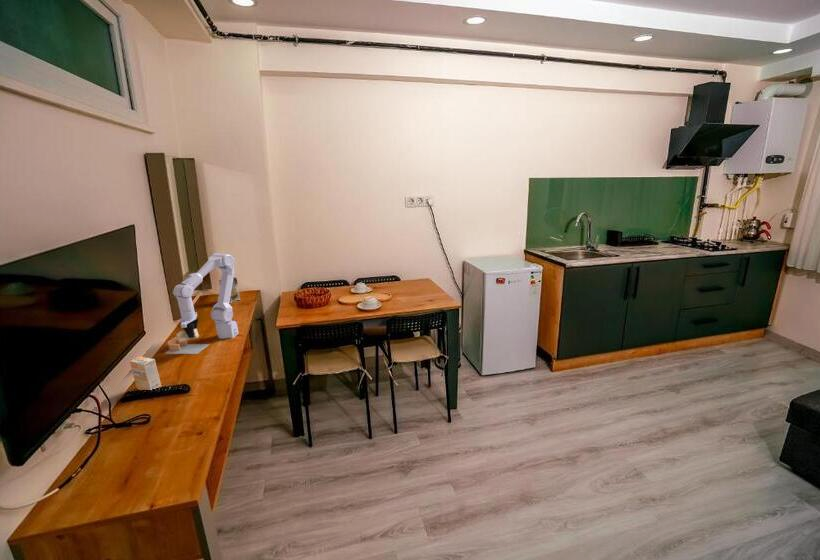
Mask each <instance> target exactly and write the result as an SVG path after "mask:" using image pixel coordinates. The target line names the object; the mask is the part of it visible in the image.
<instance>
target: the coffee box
mask: <svg viewBox="0 0 820 560" xmlns="http://www.w3.org/2000/svg"><path fill="white" fill-rule="evenodd" d="M218 282H219V285H220V284H221V279H219V280H218ZM238 285H239V284H238V278H237V277H235V276H234V277H233V284H232V290H231V296H230V302H229V303H231V304H233V303H232V302H234V301H237V300H240V301H241V297H240V296H241V295H240V289H239V286H238ZM237 302H238V301H237ZM234 303H235V302H234Z"/></svg>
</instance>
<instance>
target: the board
mask: <svg viewBox="0 0 820 560" xmlns="http://www.w3.org/2000/svg"><path fill="white" fill-rule="evenodd" d="M210 344H211V343H187V346H180V349H181V350H180V351H173V350H169V349H168V350H167V351H165V352H164V354H171V355H173V354H177V355H179V354H184V355H186V354H187V355H189V354H190V355H193V354H194V355H196V354H197V355H198V354H200V353H201V352H202V351H203V350H204V349H206V348H208V346H209V345H210Z"/></svg>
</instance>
